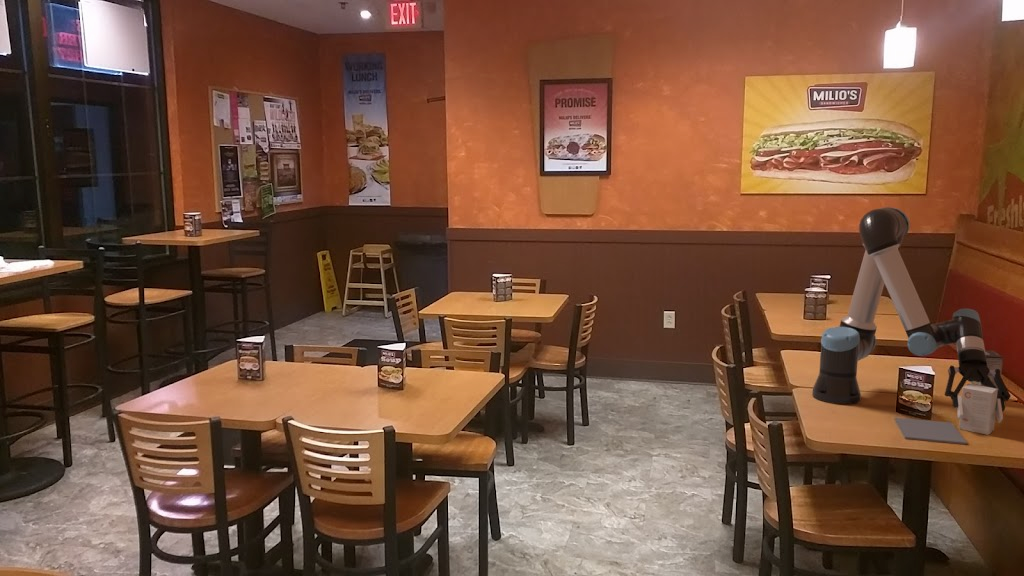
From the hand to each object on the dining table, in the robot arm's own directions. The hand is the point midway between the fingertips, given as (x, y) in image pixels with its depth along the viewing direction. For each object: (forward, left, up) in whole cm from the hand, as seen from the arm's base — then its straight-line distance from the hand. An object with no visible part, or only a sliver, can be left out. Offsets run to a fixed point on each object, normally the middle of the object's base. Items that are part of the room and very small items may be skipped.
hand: (980, 418), depth 233 cm
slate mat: (-14, -3, -4) cm, 15 cm away
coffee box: (+11, +38, -5) cm, 40 cm away
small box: (0, +3, -5) cm, 6 cm away
